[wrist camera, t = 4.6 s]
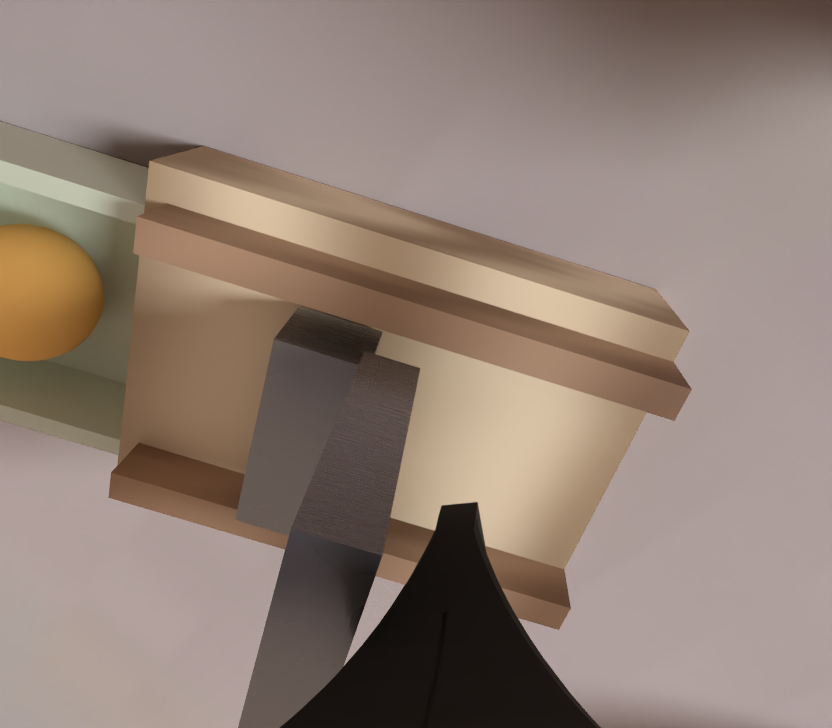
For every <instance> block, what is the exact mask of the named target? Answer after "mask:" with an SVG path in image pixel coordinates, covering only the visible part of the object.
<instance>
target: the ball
mask: <svg viewBox="0 0 832 728" xmlns="http://www.w3.org/2000/svg"><path fill="white" fill-rule="evenodd" d="M103 303H104V289H103V283H102V280H101V276H100V274H99V271H98V269H97V267H96V265H95V264H94V262H93V260H92V259H91V258H90V256H89V255H88V254H87V253H86V252H85V251H84V249H82V248H81V247H80V246H79V245H78V244H77V243H75V242H74V241H73V240H71V239H70V238H68V237H66V236H65V235H63V234H61V233H59V232H56V231H54V230H52V229H49V228H46V227H42V226H37V225H31V224H7V225H2V226H0V357H3V358H7V359H11V360H17V361H40V360H46V359H50V358H54V357H57V356H60V355H62V354H64V353H66V352H69V351H71V350H72V349H74V348H75V347H77V346H78V345H80V344H81V343H82V342H83V341H84V340H85V339H86V338H87V337H88V336H89V335H90V334H91V332H92V331H93V330H94V328H95V327H96V325H97V323H98V321H99V319H100V316H101V313H102V309H103Z"/></svg>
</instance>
